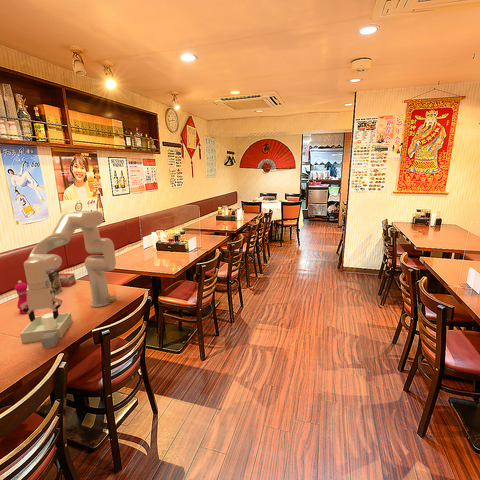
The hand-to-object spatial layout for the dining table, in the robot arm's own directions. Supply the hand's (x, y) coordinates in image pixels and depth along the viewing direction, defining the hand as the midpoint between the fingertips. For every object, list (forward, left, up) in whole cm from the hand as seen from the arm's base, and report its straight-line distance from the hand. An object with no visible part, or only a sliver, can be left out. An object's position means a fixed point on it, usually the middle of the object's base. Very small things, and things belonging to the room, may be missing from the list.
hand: (44, 319), depth 134 cm
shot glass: (+6, -17, -14) cm, 23 cm away
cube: (0, 0, -14) cm, 14 cm away
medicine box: (+21, -82, -14) cm, 86 cm away
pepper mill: (+28, -42, -14) cm, 52 cm away
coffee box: (+22, -67, -14) cm, 72 cm away
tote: (+5, -13, -14) cm, 20 cm away
